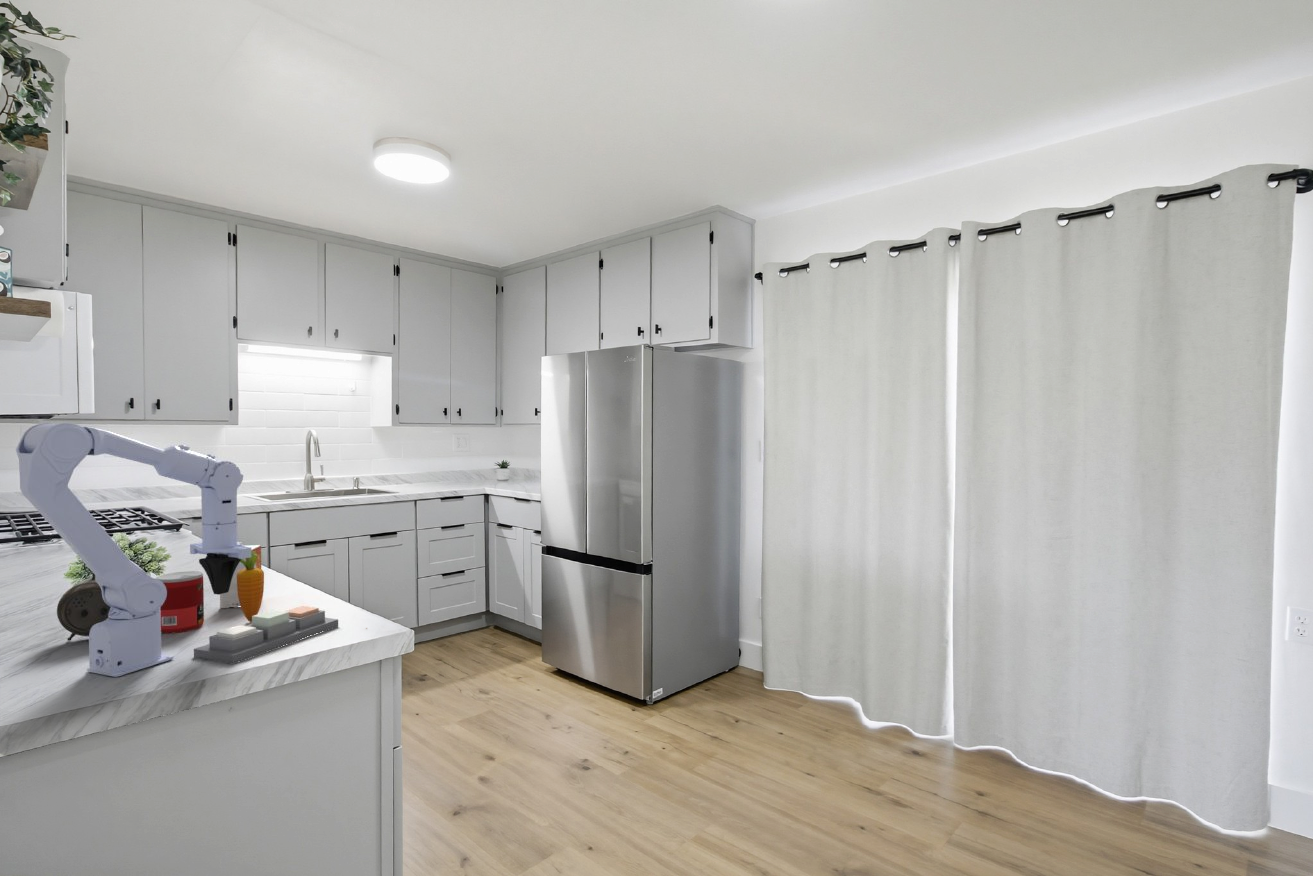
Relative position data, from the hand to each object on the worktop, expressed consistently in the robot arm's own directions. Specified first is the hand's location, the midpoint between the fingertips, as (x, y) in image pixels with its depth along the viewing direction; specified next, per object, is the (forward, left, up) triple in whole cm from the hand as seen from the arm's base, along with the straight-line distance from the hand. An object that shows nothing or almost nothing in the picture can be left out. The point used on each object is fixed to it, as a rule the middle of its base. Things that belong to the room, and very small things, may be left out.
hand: (221, 593), depth 129 cm
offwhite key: (-3, -8, -7) cm, 12 cm away
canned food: (+3, +17, -10) cm, 19 cm away
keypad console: (+4, -8, -9) cm, 13 cm away
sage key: (+4, -9, -6) cm, 11 cm away
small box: (+21, +23, -10) cm, 32 cm away
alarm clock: (-8, +25, -10) cm, 27 cm away
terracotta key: (+11, -8, -7) cm, 15 cm away
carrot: (+11, +7, -10) cm, 16 cm away
